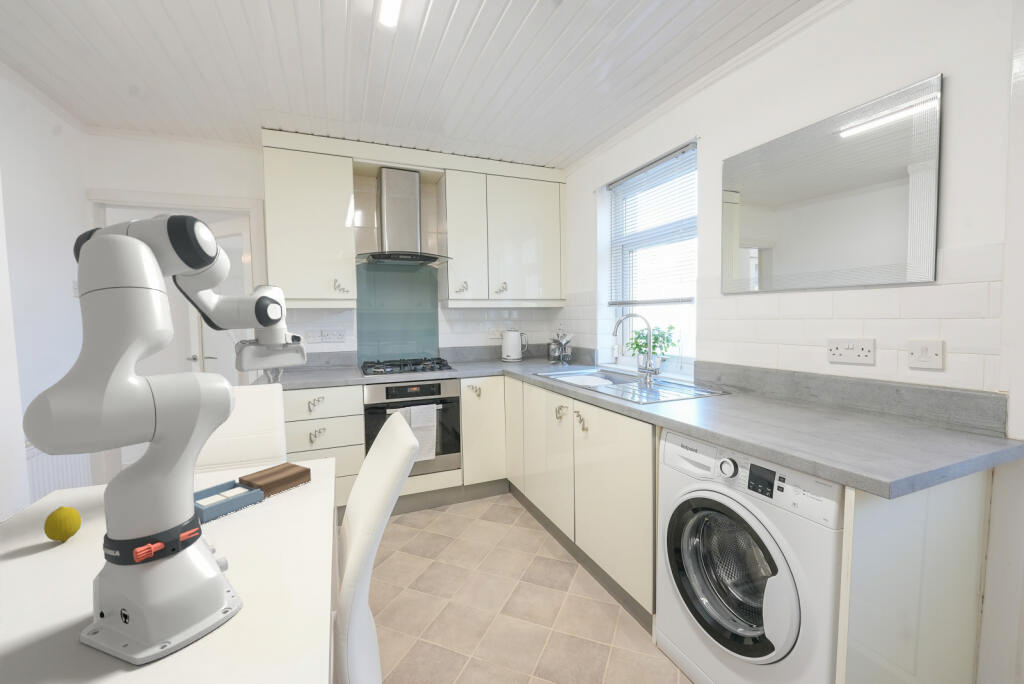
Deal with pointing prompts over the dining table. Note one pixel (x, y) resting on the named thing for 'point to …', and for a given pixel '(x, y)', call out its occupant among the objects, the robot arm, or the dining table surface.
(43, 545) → the dining table surface
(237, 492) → the tile rear
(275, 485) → the flat wooden block
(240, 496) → the box
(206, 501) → the tile front
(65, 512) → the lemon
